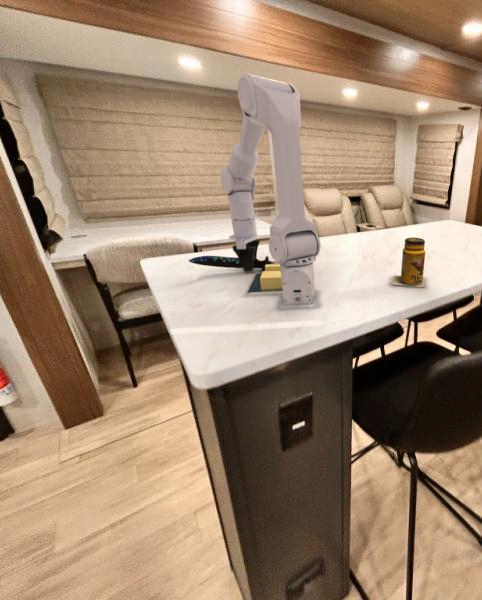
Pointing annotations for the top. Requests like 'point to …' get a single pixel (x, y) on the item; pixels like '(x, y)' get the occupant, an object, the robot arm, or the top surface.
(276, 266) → the butter pat
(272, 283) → the yellow rectangular block
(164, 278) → the top surface
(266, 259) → the knife
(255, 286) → the butter dish
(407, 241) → the condiment
